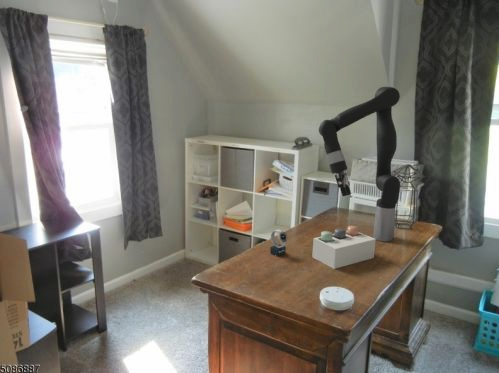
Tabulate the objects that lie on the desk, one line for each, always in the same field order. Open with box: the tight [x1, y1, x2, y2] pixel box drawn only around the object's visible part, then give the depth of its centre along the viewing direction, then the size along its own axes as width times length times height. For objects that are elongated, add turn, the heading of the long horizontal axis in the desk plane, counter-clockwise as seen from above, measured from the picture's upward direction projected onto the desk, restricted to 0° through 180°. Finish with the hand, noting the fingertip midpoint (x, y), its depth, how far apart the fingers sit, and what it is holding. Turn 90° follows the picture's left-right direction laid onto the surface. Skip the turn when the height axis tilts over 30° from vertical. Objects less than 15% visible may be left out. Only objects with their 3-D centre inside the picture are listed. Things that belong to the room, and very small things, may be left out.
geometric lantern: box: [391, 164, 426, 230], centre depth 227 cm, size 16×16×35 cm
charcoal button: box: [333, 227, 347, 240], centre depth 186 cm, size 5×5×4 cm
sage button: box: [320, 230, 334, 243], centre depth 182 cm, size 5×5×4 cm
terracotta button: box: [346, 225, 360, 237], centre depth 190 cm, size 5×5×4 cm
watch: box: [269, 229, 288, 257], centre depth 187 cm, size 6×8×11 cm
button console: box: [311, 230, 377, 270], centre depth 185 cm, size 24×14×9 cm, turn 122°
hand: (347, 195), depth 191 cm, fingers open, 8 cm apart
